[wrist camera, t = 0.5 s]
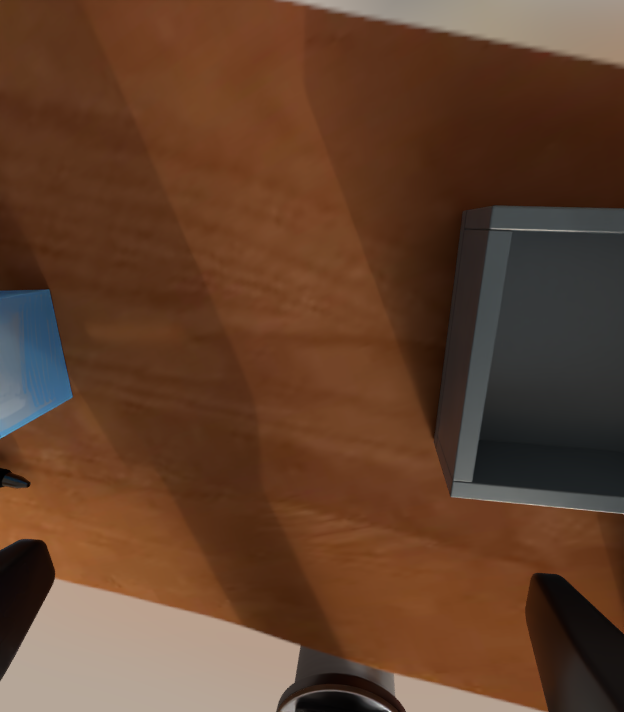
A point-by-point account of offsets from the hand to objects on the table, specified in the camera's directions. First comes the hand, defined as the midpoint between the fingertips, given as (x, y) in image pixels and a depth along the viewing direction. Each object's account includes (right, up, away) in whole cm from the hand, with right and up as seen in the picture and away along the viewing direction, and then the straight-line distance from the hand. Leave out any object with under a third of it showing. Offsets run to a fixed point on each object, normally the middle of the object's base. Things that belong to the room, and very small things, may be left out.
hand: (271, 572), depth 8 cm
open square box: (+14, +4, +12) cm, 19 cm away
